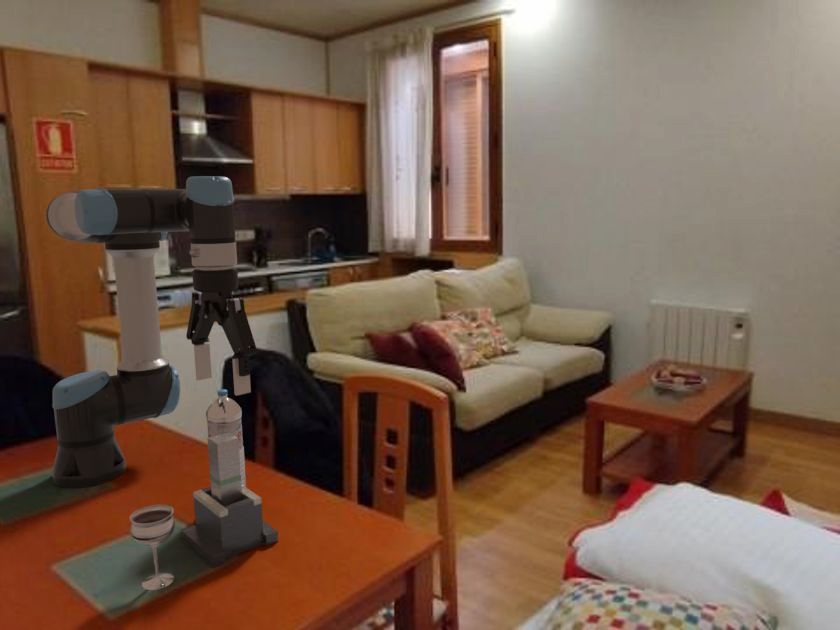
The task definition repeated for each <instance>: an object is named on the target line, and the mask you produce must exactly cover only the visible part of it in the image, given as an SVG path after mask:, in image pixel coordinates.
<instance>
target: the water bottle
mask: <svg viewBox="0 0 840 630" xmlns="http://www.w3.org/2000/svg"><path fill="white" fill-rule="evenodd" d="M242 413H243V411H242V407H240V405H239V404H238V403H237V402H236V401H235V400H234V399H233V398H230V397H228V390H227V389H224V388H223V389H219V390H217V398H216V399H215V400H214V401H212V403H210V405H209V406H208V408H207V410H206V412H205V420H206V423H207V439H208V438H209V437H213V436H217V435H221V434H224V433H230V434H232V435H234V436H235V437H237V438H238V440H239V456H240V472H241V485H243V486H244V487H246V488H247V479H246V465H245V464H246V463H245V447H244V445H243V444H244V440H243V425H242V415H243V414H242Z"/></svg>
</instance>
